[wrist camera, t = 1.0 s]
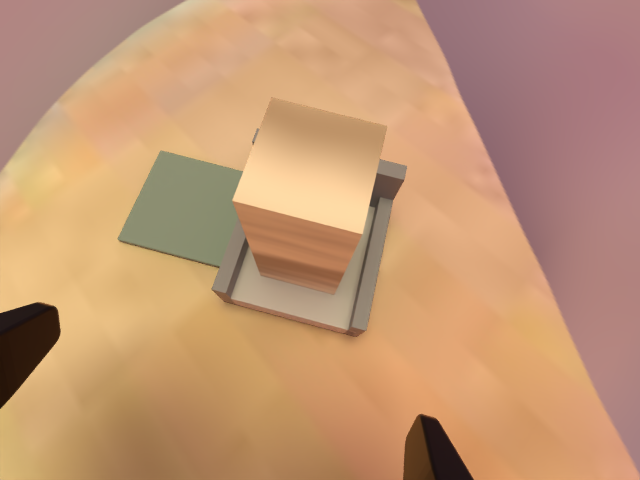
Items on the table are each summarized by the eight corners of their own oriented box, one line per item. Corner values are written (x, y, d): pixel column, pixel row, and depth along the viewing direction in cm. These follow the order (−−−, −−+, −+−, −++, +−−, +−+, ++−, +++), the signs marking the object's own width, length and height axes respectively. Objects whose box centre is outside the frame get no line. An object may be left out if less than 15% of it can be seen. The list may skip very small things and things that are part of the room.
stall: (356, 337, 23) (375, 324, 17) (223, 301, 23) (200, 278, 17) (383, 211, 26) (407, 166, 20) (266, 181, 26) (257, 128, 20)
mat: (222, 268, 24) (221, 266, 23) (120, 241, 24) (117, 239, 23) (255, 177, 26) (255, 174, 26) (162, 153, 26) (160, 150, 26)
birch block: (334, 294, 21) (362, 234, 12) (260, 275, 22) (232, 200, 12) (350, 226, 23) (387, 126, 14) (282, 209, 23) (271, 97, 14)
